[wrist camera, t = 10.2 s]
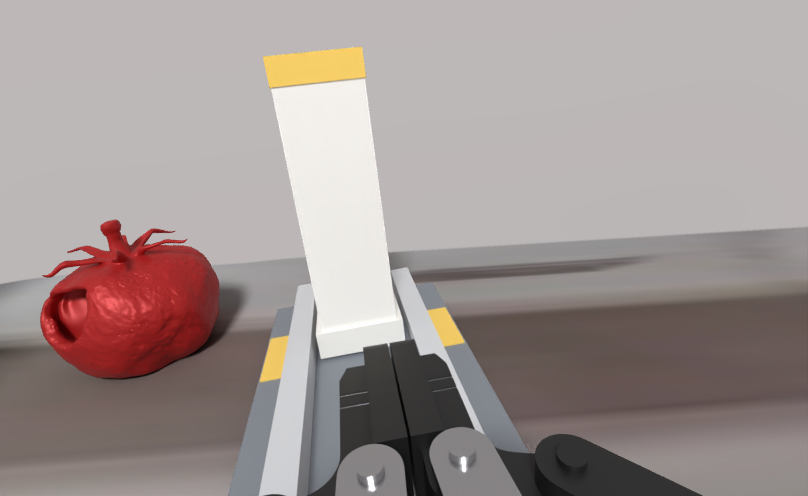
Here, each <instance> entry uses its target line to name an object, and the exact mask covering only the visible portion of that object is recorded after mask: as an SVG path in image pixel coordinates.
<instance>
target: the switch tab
mask: <svg viewBox="0 0 808 496" xmlns="http://www.w3.org/2000/svg"><path fill="white" fill-rule="evenodd" d="M263 59H264V64H265V69H266V73H267V78H268V83H269V87H270V88H271V91H272V95H273V100H274V105H275V110H276V115H277V119H278V124H279V129H280V134H281V139H282V144H283V148H284V153H285V158H286V163H287V168H288V172H289V177H290V182H291V187H292V191H293V196H294V201H295V206H296V211H297V216H298V220H299V225H300V230H301V235H302V240H303V244H304V249H305V254H306V259H307V264H308V268H309V273H310V278H311V283H312V288H313V292H314V297H315V302H316V307H317V326H316V338H317V343H318V347H319V352H320V357H321V359H325V358H330V357H335V356H341V355H346V354H351V353H356V352H362V351H363V347H367V346H373V345H379V344H385V343H387V344H388V346H389V343H392V342H398V341H404V340H405V334H404V326H403V319H402V316H401V313H400V310H399V307H398V304H397V301H396V298H395V295H394V292H393V288H392V280H391V272H390V265H389V257H388V251H387V243H386V235H385V227H384V219H383V213H382V204H381V197H380V189H379V183H378V175H377V166H376V159H375V152H374V144H373V136H372V129H371V121H370V114H369V106H368V98H367V91H366V84H365V77H366V74H365V66H364V59H363V51H362V47H354V48H345V49H335V50H324V51H314V52H305V53H294V54H284V55H275V56H264V57H263Z"/></svg>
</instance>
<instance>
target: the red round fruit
mask: <svg viewBox="0 0 808 496" xmlns="http://www.w3.org/2000/svg"><path fill="white" fill-rule="evenodd" d="M100 227H101V231H102V233H103V234H104V235H105V236H106V237H107V240H108V243H109V248H110V251H103V250H100V249H97V248H94V247H91V246H83V247H79V248H76V249H74V250H71V251H68V253H70V252H74V251H78V250H83V251H85V252H87V253H88V254H90V255H93V256H95V257H93V258H89V259H84V260H76V261H64V262H62V263H60V264H59V265H58V266H57V267H56V268H55V269H54V270H53V271H52V272H51V273H50V274H48V275H43V276H44V277H53V276H54V275H56V274H57V273H58V272H59V271H60V270H62V269H64V268H67V267H73V266H80V267H79V268H78V269H76V270H75V271H74V272H72V273H71V274H69V275H68V276H67V277H66V278H64V279H63V280H62V281H60V282H59V283H58V284H57V285H56V286H55V287H54V288H53V289H52V291H51V292H50V297H49V298H48V299H47V300H46V301H45V303H44V305H43V308H42V312H41V317H40V323H41V329H42V332H43V335H44V337H45V339H46V340H47V341H48V343H49V344H50V345H51V346H52V347H53V348H54V350H55V351H56V352H57V353H58V354H59V355H60V356H61V357H62V358H63V359H64V360H66V361H67V362H68V363H70V364H72V365H74V366H75V367H76V368H77V369H79V370H80V371H82V372H84V373H86V374H88V375H91V376H94V377H98V378H127V377H132V376H140V375H145V374H148V373H151V372H153V371H156V370H158V369H161V368H163V367H165V366H166V365H168V364H169V363H170V362H173V361H175V360H178V359H181V358H184V357H186V356H188V355H190V354H191V353H193V352H195V351H197V350H198V349H199V348H200V347H201V346H202V345H204V344H205V343H206V341H207V340H208V337H209V336H210V334H211V332H212V328H213V326H214V324H215V322H216V320H217V318H218V315H219V280H218V278H217V275H216V273H215V272H214V270H213V269H212V267H211V264H210V263H209V261H208V260H207V258H206V257H205V256H204V255H203V254H202V253H200V252H199V251H198V250H196V249H194V248H192V247H188V246H179V245H177V246H176V245H173V246H169V245H161V244H164V243H184V242H185V241H186V240H187V239H186V240H182V241H181V240H170V239H167V240H163V241H161V242H157V243H154V244H151V245H150V244H147V245H144V244H145V243H146V241H147V240H148V239H149V237H150V236H151V234H152V233H172V232H175V231H172V232H168V231H164V230H160V229H150V230H149V231H147V232H146V233H145V234H143V235H142V236H140V237H139V238H138V239H137V240H136V241H135V242H134V243H133V244H132V245H129V244H128V242H127V238H126V236H125V235H122V236H121V233H120V230H121V224H120V222H119V221H118V220H112V221H107V222H105V223H103V224H102V225H101V226H100Z"/></svg>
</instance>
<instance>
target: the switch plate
mask: <svg viewBox="0 0 808 496" xmlns="http://www.w3.org/2000/svg"><path fill="white" fill-rule="evenodd" d="M390 271H391V279H392V286H393V292H394V295H395V298H396V301H397V304H398V307H399V310H400V313H401V316H402V319H403V326H404V334H405V340H410V339H414V340H415V343H416V346H417V349H418V352H419V355H420V356H421V355H427V354H432V353H435V354H437V355H438V356H439V357H440V358H441V359H443V360H444V361H445V362H446V363H447V365H448V367H449V370H450V372H451V374H452V378H453V379H454V381H455V384H456V387H457V388H458V391H459V393H460V395H461V398H462V400H463V402H464V405H465V407H466V409H467V412H468V414H469V416H470V419H471V421H472V423H473V426H474V428H475V430H477V431H479V432H481V433H483V434H484V435H485V436H487V437H488V438H489V440H490V441H491V442H492V444H493V445H494V447H496V448H498V449H501V450H505V451H511V452H521V453H529V452H528V450H527V448H526V447H525V445H524V443H523V441H522V440H521V438H520V436H519V434H518V433H517V431H516V429H515V427H514V425H513V424H512V422H511V420H510V418H509V417H508V415H507V413H506V411H505V410H504V408H503V406H502V404H501V403H500V401H499V399H498V397H497V396H496V394H495V392H494V390H493V389H492V387H491V385H490V383H489V381H488V380H487V378H486V376H485V374H484V373H483V371H482V369H481V367H480V366H479V364H478V362H477V360H476V359H475V357H474V355H473V353H472V352H471V350H470V348H469V346H468V344H467V343H466V341H465V339H464V337H463V336H462V334H461V332H460V330H459V329H458V327H457V325H456V323H455V322H454V320H453V318H452V316H451V315H450V313H449V311H448V309H447V308H446V306H445V304H444V302H443V300H442V299H441V297H440V295H439V293H438V292H437V290H436V288H435V286H434V285H433V283H427V284H421V285H415V283H414V281H413V279H412V277H411V275H410V273H409V270H408V268H407V267H406V268H401V269H395V270H390ZM316 326H317V307H316V302H315V297H314V292H313V288H312V283H311V284H305V285H299V286H298V290H297V295H296V301H295V306H294V307H288V308H282V309H278V310H277V314H276V318H275V322H274V325H273V329H272V333H271V337H270V340H269V344H268V348H267V351H266V355H265V359H264V363H263V366H262V370H261V374H260V378H259V381H258V385H257V389H256V393H255V396H254V400H253V404H252V408H251V411H250V415H249V419H248V422H247V426H246V430H245V434H244V437H243V441H242V445H241V449H240V452H239V456H238V460H237V464H236V467H235V471H234V475H233V479H232V482H231V486H230V490H229V494H228V496H264V495H269V494H280V495H285V496H307V495H309V494H311V493H313V492H315V491H316V490H318V489H319V488H321V487H322V486H323V485H325V484H326V483H327V482H328V481H329V480H330V478H331V477H332V476H333V474H334V473H335V471H336V469H337V467H338V465H339V461H340V396H339V381H340V379H341V377H342V376H343V374H344V372H345V370H346V368H351V367H356V366H362V365H365V363H364V354H363V351H362V352H356V353H351V354H346V355H341V356H335V357H330V358H325V359H321V357H320V352H319V347H318V343H317V338H316ZM388 348H389V352H390V346H388ZM390 357H391V355H390ZM413 488H414V486H413ZM414 496H416V495H415V490H414Z"/></svg>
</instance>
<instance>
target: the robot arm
mask: <svg viewBox="0 0 808 496" xmlns="http://www.w3.org/2000/svg"><path fill="white" fill-rule="evenodd" d="M389 346H390V352H389V348H388V344H387V343H385V344H379V345H373V346H367V347H363V354H364V363H365V365H362V366H356V367H351V368H346V370H345V372H344V374H343V376H342V377H341V379H340V381H339V396H340V461H339V465H338V467H337V469H336V471H335V473H334V474H333V476H332V477H331V478H330V480H329V481H328V482H327V483H326V484H325V485H323V486H322V487H321V488H319V489H318V490H316V491H315V492H313V493H311V494H309V495H307V496H414V490H415V495H416V496H702V495H700V494H698V493H696V492H694V491H692V490H690V489H688V488H686V487H683V486H681V485H679V484H677V483H675V482H673V481H671V480H669V479H667V478H665V477H662V476H660V475H658V474H656V473H654V472H652V471H650V470H648V469H646V468H644V467H641V466H639V465H637V464H635V463H633V462H631V461H629V460H627V459H625V458H623V457H621V456H618V455H616V454H614V453H612V452H610V451H608V450H606V449H604V448H602V447H600V446H597V445H595V444H593V443H591V442H589V441H587V440H585V439H582V438H580V437H577V436H573V435H568V434H556V435H552V436H549V437H547V438H545V439H543V440H542V441H541V442H540V443H539V444H538V446H537V448H536V452H535V454H532V453H521V452H511V451H505V450H501V449H498V448H496V447H494V445H493V444H492V442H491V441H490V440H489V438H488V437H487V436H485V435H484V434H483V433H481V432H479V431H477V430H475V428H474V426H473V423H472V421H471V419H470V416H469V414H468V412H467V409H466V407H465V405H464V402H463V400H462V398H461V395H460V393H459V391H458V388H457V387H456V384H455V381H454V379H453V378H452V374H451V372H450V370H449V367H448V365H447V363H446V362H445V361H444V360H443V359H441V358H440V357H439V356H438V355H437V354H435V353H432V354H427V355H421V356H420V355H419V352H418V349H417V346H416V343H415V340H414V339H410V340H404V341H398V342H392V343H389ZM390 355H391V357H390ZM413 486H414V488H413ZM264 496H285V495H280V494H269V495H264Z"/></svg>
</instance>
